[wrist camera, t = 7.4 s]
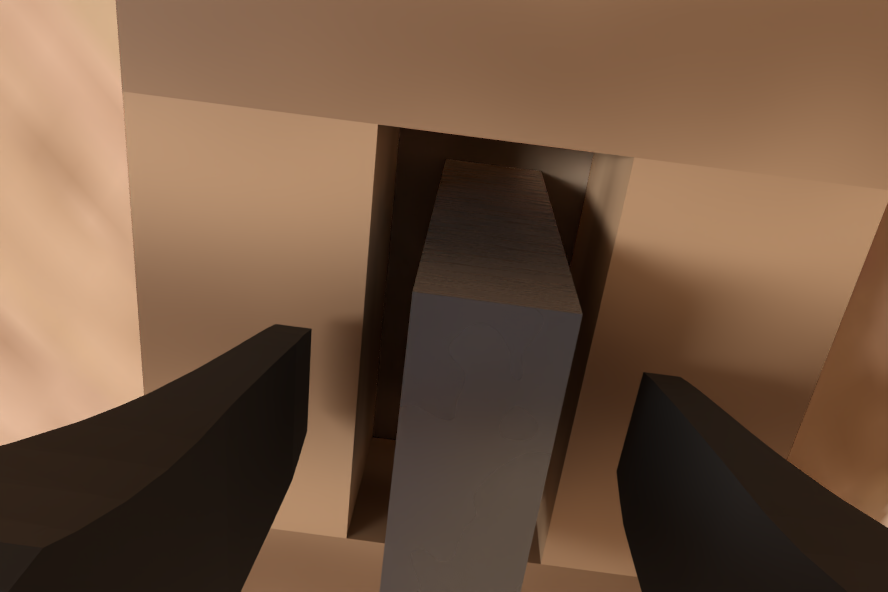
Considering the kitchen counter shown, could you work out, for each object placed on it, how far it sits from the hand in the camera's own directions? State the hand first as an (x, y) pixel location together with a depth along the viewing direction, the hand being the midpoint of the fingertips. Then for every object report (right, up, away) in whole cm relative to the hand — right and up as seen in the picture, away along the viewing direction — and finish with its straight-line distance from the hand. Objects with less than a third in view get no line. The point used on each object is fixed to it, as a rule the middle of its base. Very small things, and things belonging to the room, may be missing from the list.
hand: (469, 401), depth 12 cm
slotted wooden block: (0, +2, +4) cm, 4 cm away
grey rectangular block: (0, +2, +4) cm, 4 cm away
